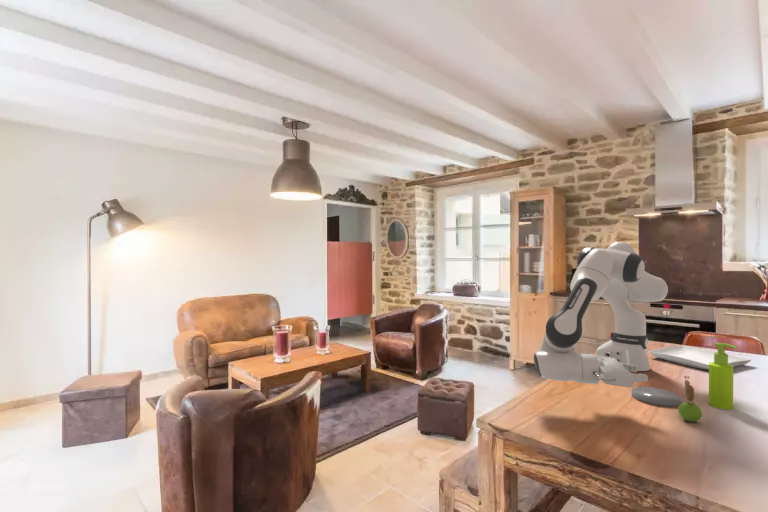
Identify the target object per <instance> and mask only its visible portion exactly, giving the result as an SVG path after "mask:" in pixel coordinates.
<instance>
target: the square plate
mask: <svg viewBox="0 0 768 512" xmlns="http://www.w3.org/2000/svg"><path fill="white" fill-rule="evenodd" d="M716 352H717V351H715V350H710V349H703V348H697V347H693V346H686V345H677V346H669V347H668V346H667V347H662V348H661V347H660V348H657V349H651V350H647V353H649V354H650V355H652V356H653V357H655V358H658V359H661V360H664V361H667V362H672V363H675V364H678V365H679V364H680V365H683V366H687V365H688V367H691V368H695V369H696V368H697V369H701V370H704V371H705V370H706V371H709V363H711V362H714V353H716ZM751 361H752V359H750V358H745V357H741V356H736V355H731V354H728V364H729V365H732V366H733V368H734V367H739V366H744V365H747V364H749V363H750V362H751Z"/></svg>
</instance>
